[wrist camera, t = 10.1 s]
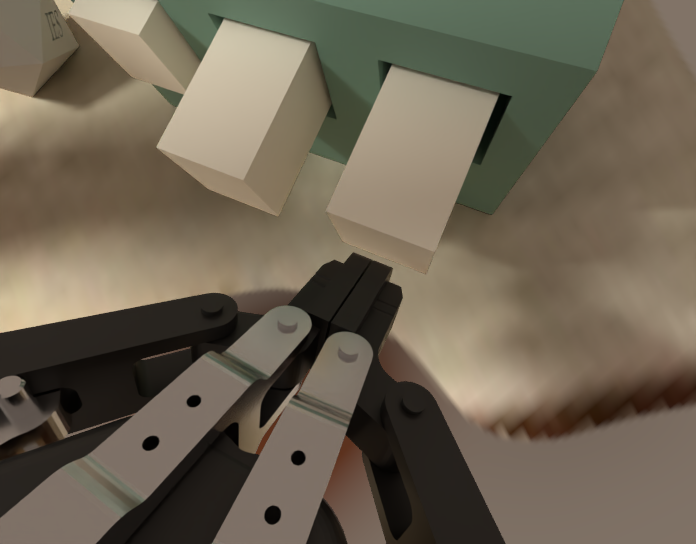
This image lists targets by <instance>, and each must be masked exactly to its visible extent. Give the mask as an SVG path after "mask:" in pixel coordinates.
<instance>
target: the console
mask: <svg viewBox="0 0 696 544" xmlns="http://www.w3.org/2000/svg"><path fill="white" fill-rule="evenodd" d="M71 1H72V2H73V3H74V2H75V0H71ZM158 1H159V3H160V4H161V6H162V7H163V9H164V10H165V11H166V13H167V14H168V16H169V17H170V18H171V20H172V21H173V23H174V24H175V25H176V27H177V28H178V30H179V31H180V33H181V34H182V35H183V37H184V38H185V40H186V41H187V42H188V44H189V45H190V47H191V48H192V50H193V51H194V52H195V54H196V55H197V57H198V58H199V59H200V61H201V62H202V60H203V58H204V56H205V54H206V52H207V50H208V48H209V46H210V45H211V43H212V41H213V39H214V37H215V35H216V33H217V31H218V29H219V28H220V26H221V24H222V22H223V20H224V18H228V19H232V20H236V21H239V22H243V23H246V24H250V25H254V26H257V27H261V28H265V29H268V30H272V31H276V32H279V33H283V34H287V35H290V36H294V37H298V38H301V39H305V40H308V41H312V42H315V44H316V48H317V51H318V55H319V58H320V62H321V66H322V69H323V73H324V76H325V80H326V83H327V87H328V90H329V94H330V98H331V101H332V104H331V106H330V109H329V111H328V113H327V115H326V117H325V119H324V121H323V123H322V126H321V128H320V130H319V132H318V134H317V136H316V138H315V140H314V143H313V145H312V147H311V149H310V151H309V152H310V153H313V154H316V155H319V156H322V157H325V158H328V159H331V160H334V161H337V162H340V163H342V164H345V165H347V162H348V160H349V158H350V156H351V154H352V151H353V149H354V147H355V145H356V143H357V140H358V138H359V136H360V134H361V132H362V129H363V127H364V125H365V123H366V121H367V118H368V116H369V114H370V112H371V110H372V107H373V105H374V103H375V101H376V99H377V96H378V94H379V92H380V90H381V88H382V85H383V83H384V81H385V79H386V77H387V74H388V72H389V70H390V68H391V66H392V64H396V65H400V66H403V67H407V68H411V69H414V70H418V71H422V72H425V73H429V74H432V75H436V76H440V77H443V78H447V79H451V80H454V81H458V82H462V83H465V84H469V85H473V86H476V87H480V88H484V89H487V90H491V91H494V92H498V93H500V94H499V96H498V99H497V101H496V104H495V106H494V109H493V111H492V114H491V116H490V119H489V121H488V123H487V126H486V128H485V131H484V133H483V136H482V138H481V141H480V143H479V146H478V148H477V151H476V153H475V156H474V158H473V160H472V163H471V165H470V168H469V170H468V173H467V175H466V178H465V180H464V182H463V185H462V187H461V190H460V192H459V195H458V197H457V200H456V203H459V204H462V205H465V206H468V207H471V208H473V209H476V210H479V211H482V212H485V213H488V214H491V215H492V214H493V213H494V211H495V210H496V209H497V207H498V206H499V205H500V203H501V202H502V201H503V199H504V198H505V196H506V195H507V194H508V192H509V191H510V190H511V188H512V187H513V186H514V184H515V183H516V181H517V180H518V179H519V177H520V176H521V175H522V173H523V172H524V171H525V169H526V168H527V166H528V165H529V164H530V162H531V161H532V160H533V158H534V157H535V156H536V154H537V153H538V151H539V150H540V149H541V147H542V146H543V145H544V143H545V142H546V140H547V139H548V138H549V136H550V135H551V134H552V132H553V131H554V130H555V128H556V127H557V125H558V124H559V123H560V121H561V120H562V119H563V117H564V116H565V115H566V113H567V112H568V110H569V109H570V108H571V106H572V105H573V104H574V102H575V101H576V100H577V98H578V97H579V95H580V94H581V93H582V91H583V90H584V89H585V87H586V86H587V85H588V83H589V82H590V80H591V79H592V78H593V76H594V75H595V74H596V72H597V71H598V68H599V65H600V62H601V60H602V57H603V54H604V52H605V49H606V46H607V44H608V41H609V38H610V36H611V33H612V30H613V28H614V25H615V22H616V20H617V17H618V14H619V12H620V9H621V6H622V4H623V1H624V0H158ZM152 85H153V86H154V87H155V88H156V89H157V90H158V91H159V92H160V93H161V94H162V95H163V96H164V98H165V99H166V100H167V101H168V102H169V103H170V104H171V105H174V106H176V107H178V105H179V103H180V101H181V99H182V97H183V96H184V95H183V94H180V93H177V92H174V91H171V90H168V89H166V88H163V87H160V86H157V85H154V84H152Z"/></svg>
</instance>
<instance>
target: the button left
mask: <svg viewBox="0 0 696 544" xmlns="http://www.w3.org/2000/svg"><path fill="white" fill-rule="evenodd" d="M68 14H69V15H70V16H71V17H72V18H73V19H74V20H75V21H76V22H77V23H78V24H79V25H80V26H81V27H82V28H83V29H84V30H85V31H86V32H87V33H88V34H89V35H90V36H91V37H92V38H93V39H94V40H95V41H96V42H97V43H98V44H99V45H100V46H101V47H102V48H103V49H104V50H105V51H106V52H107V53H108V54H109V55H110V56H111V57H112V58H113V59H114V60H115V61H116V62H117V63H118V64H119V65H120V66H121V67H122V68H123V69H124V70H125V71H126V72H127V73H128V74H129V75H130V76H131V77H133V78H136V79H139V80H142V81H145V82H148V83H151V84H154V85H157V86H160V87H163V88H166V89H168V90H171V91H174V92H177V93H180V94H183V95H184V94H185V92H186V90H187V88H188V86H189V84H190V82H191V80H192V79H193V77H194V75H195V73H196V71H197V69H198V67H199V65H200V63H201V61H200V59H199V58H198V57H197V55H196V54H195V52H194V51H193V50H192V48H191V47H190V45H189V44H188V42H187V41H186V40H185V38H184V37H183V35H182V34H181V33H180V31H179V30H178V28H177V27H176V25H175V24H174V23H173V21H172V20H171V18H170V17H169V16H168V14H167V13H166V11H165V10H164V9H163V7H162V6H161V4H160V3H159V1H158V0H75V2H74V3H73V5H72V7H71V8H70V10H69V12H68Z"/></svg>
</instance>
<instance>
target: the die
mask: <svg viewBox="0 0 696 544" xmlns="http://www.w3.org/2000/svg"><path fill="white" fill-rule="evenodd" d="M78 47H79V45H78V43H77V41H76V39H75V38H74V36H73V34H72V32H71V30H70V29H69V27H68V25H67V23H66V21H65V20H64V18H63V16H62V14H61V12H60V10H59V9H58V7H57V5H56V3H55V1H54V0H0V88H1V89H5V90H8V91H12V92H15V93H19V94H22V95H26V96H29V97H33V96H34V95H35V94H36V93H37V91H38V90H39V89H40V88H41V87H42V86H43V85H44V84H45V83H46V82H47V81H48V80H49V79H50V77H51V76H52V75H53V74H54V73H55V72H56V71H57V70H58V69H59V68H60V67H61V66H62V65H63V63H64V62H65V61H66V60H67V59H68V58H69V57H70V56H71V55H72V54H73V53H74V52H75V51H76V49H77V48H78Z"/></svg>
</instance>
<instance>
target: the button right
mask: <svg viewBox="0 0 696 544" xmlns="http://www.w3.org/2000/svg"><path fill="white" fill-rule="evenodd" d="M499 94H500V93H498V92H494V91H491V90H487V89H484V88H480V87H476V86H473V85H469V84H465V83H462V82H458V81H454V80H451V79H447V78H443V77H440V76H436V75H432V74H429V73H425V72H422V71H418V70H414V69H411V68H407V67H403V66H400V65H396V64H392V66H391V68H390V70H389V72H388V74H387V77H386V79H385V81H384V83H383V85H382V88H381V90H380V92H379V94H378V96H377V99H376V101H375V103H374V105H373V107H372V110H371V112H370V114H369V116H368V118H367V121H366V123H365V125H364V127H363V129H362V132H361V134H360V136H359V138H358V140H357V143H356V145H355V147H354V149H353V151H352V154H351V156H350V158H349V160H348V162H347V165H346V167H345V169H344V171H343V173H342V176H341V178H340V180H339V182H338V184H337V187H336V189H335V191H334V193H333V195H332V198H331V200H330V202H329V204H328V206H327V209H326V213H327V215H328V217H329V218H330V220H331V222H332V224H333V225H334V227H335V229H336V231H337V232H338V234H339V236H340V238H341V240H342V241H343V242H345V243H347V244H350V245H352V246H355V247H357V248H360V249H363V250H365V251H368V252H370V253H373V254H375V255H378V256H380V257H383V258H386V259H388V260H391V261H393V262H396V263H398V264H401V265H404V266H406V267H409V268H411V269H414V270H416V271H419V272H421V273H424V274H426V273H427V271H428V268H429V266H430V263H431V261H432V258H433V256H434V253H435V251H436V249H437V246H438V244H439V241H440V239H441V236H442V234H443V231H444V229H445V227H446V224H447V222H448V219H449V217H450V214H451V212H452V209H453V207H454V204H455V202H456V200H457V197H458V195H459V192H460V190H461V187H462V185H463V182H464V180H465V178H466V175H467V173H468V170H469V168H470V165H471V163H472V160H473V158H474V156H475V153H476V151H477V148H478V146H479V143H480V141H481V138H482V136H483V133H484V131H485V128H486V126H487V123H488V121H489V119H490V116H491V114H492V111H493V109H494V106H495V104H496V101H497V99H498V96H499Z"/></svg>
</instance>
